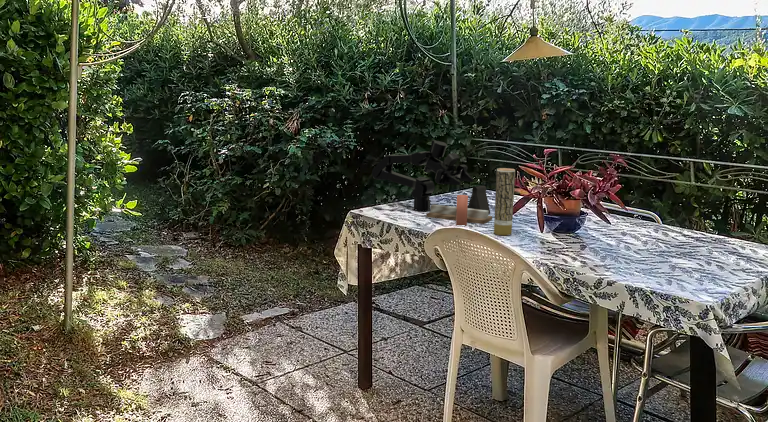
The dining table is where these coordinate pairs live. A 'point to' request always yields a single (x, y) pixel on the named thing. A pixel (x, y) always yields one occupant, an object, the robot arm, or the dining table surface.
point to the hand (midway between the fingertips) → (466, 182)
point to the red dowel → (461, 210)
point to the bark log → (504, 201)
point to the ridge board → (453, 217)
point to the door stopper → (479, 199)
